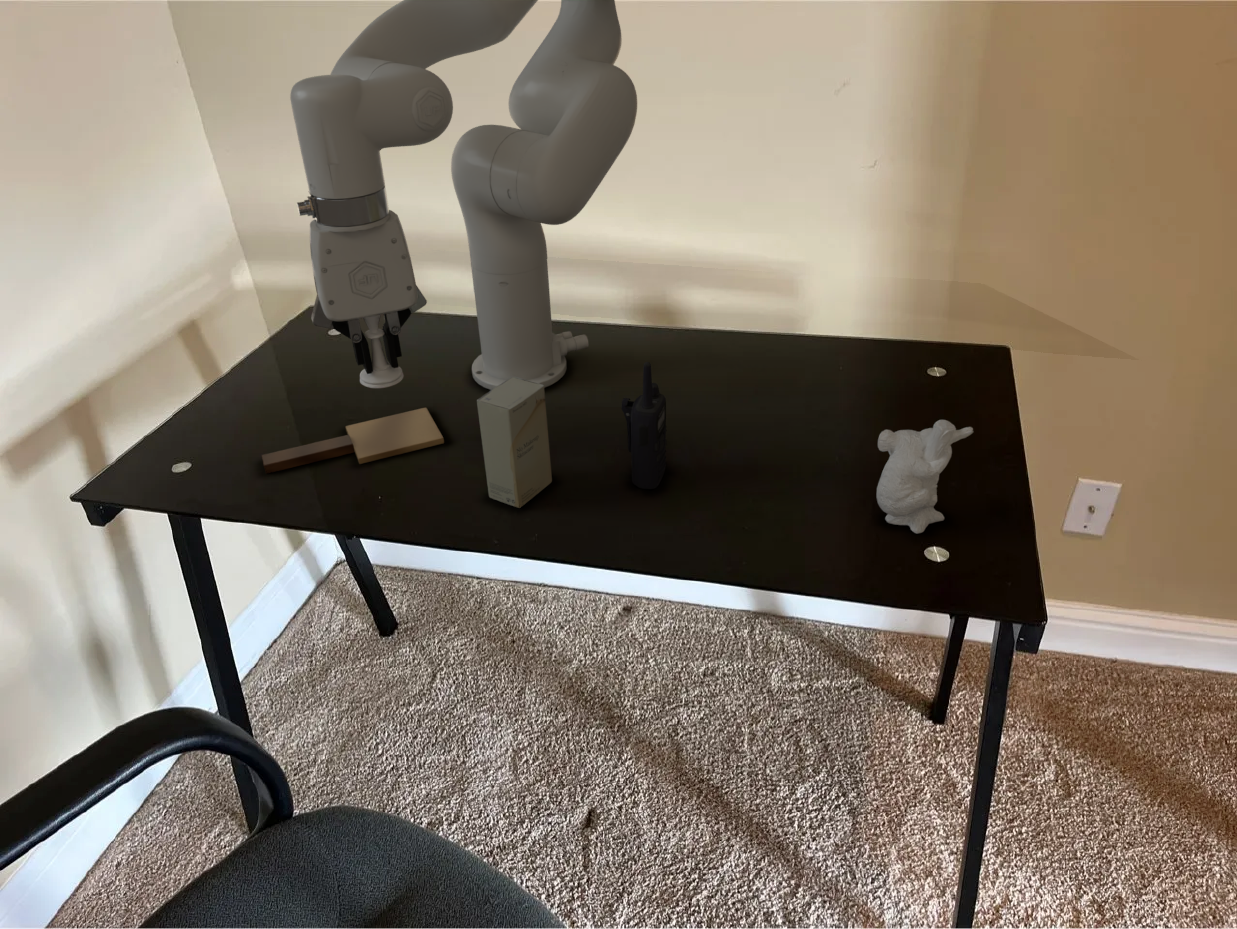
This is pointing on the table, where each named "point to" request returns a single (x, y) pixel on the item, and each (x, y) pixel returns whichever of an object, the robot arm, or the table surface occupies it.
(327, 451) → the spatula
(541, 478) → the cosmetic box
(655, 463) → the two-way radio
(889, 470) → the koala figurine
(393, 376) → the chess piece
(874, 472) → the table surface
